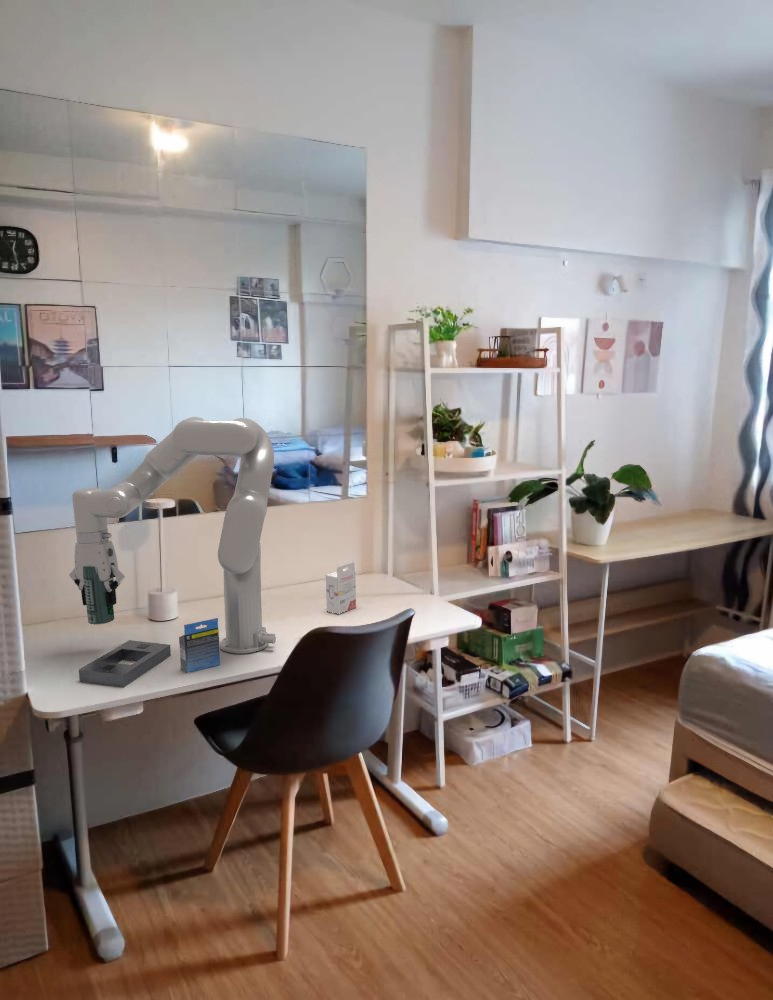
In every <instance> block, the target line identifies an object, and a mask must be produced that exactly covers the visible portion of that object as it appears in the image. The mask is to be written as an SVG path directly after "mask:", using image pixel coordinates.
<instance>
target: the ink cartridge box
mask: <svg viewBox="0 0 773 1000" xmlns="http://www.w3.org/2000/svg"><path fill="white" fill-rule="evenodd" d="M346 568H348V569H346ZM356 582H357V581H356V567H355V561H352V562H348V563H345V564H342V565H340V566H337V567H336V571H333V572H332V573H328V574H325V589H326V590H325V592H326V593H325V594H326V596H325V597H326V612H327V611H328V612H327V613H329V612H333V613H337V614H339V613H342V612H344V613H346V612H345V611H347V612H350V611H351V609H352V610H354V609H355V608H357V598H356V597H357V591H356V587H357V585H356ZM333 613H332V614H333ZM337 614H336V615H337ZM342 614H343V613H342ZM339 615H340V614H339Z"/></svg>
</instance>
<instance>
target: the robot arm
mask: <svg viewBox="0 0 773 1000" xmlns="http://www.w3.org/2000/svg"><path fill="white" fill-rule="evenodd" d="M198 455H199V456H227V457H228V456H240V463H239V467H238V472H237V473H238V474H237V479H236V480H237V481H236V485H235V488H234V493H233V496H232V497H231V499H230V501H229V502H228V503H227V506H226V510H225V513H224V519H223V522H222V528H221V533H220V538H219V544H218V549H217V560H218V562H219V565H220V566H221V568H222V569H223V600H224V621H225V623H224V624H225V625H224V626H225V627H224V628H225V637H224V638H223V639H222V640H221V641H219V649H220V650H222V651H224V652H226V653H230V654H235V655H236V654H238V655H239V654H240V655H241V654H243V655H244V654H250V653H251V654H252V653H256V651H257V652H259V651H263V650H265V649H266V648H267V647H268V646H269V644H272V645H273V644H274V645H275V643H276V642H277V640H276V639H277V636H276V634H275V633H270V632H269V633H268V632H267V629H266V627H265V626H263V617H262V615H263V614H262V613H263V612H262V611H263V610H262V578H261V577H262V576H261V575H262V574H261V573H262V572H261V565H262V563H261V559H262V558H261V556H262V555H261V554H262V553H261V552H262V551H261V542H260V541H261V536H262V531H263V527H264V521H265V518H266V515H267V511H268V500H269V493H270V489H271V485H272V478H273V472H274V465H275V464H274V463H275V452H274V446H273V444H272V440H271V438H270V436H269V435H268V433H267V432H266V431H265V429H264V428H263V427H262V426H261V425H259V424H258V423H257V422H256V421H254V420H252V419H250V418H247V417H238V418H235V419H233V420H207V419H206V420H205V419H204V418H202V417H198V416H191V417H187V418H185V419H183V420H180V422H178V423H177V424H176V426H175V427H174V429H173V430H171V432H169V434H168V435H166V436H165V437H164V438H163V439H162V440H160V442H159V443H157V444H156V445H155V446H154V447H152V449H151V450H149V452H148V453H146V455H145V457H144V459H143V461H142V462H141V464H140V465H139V466H137V468H135V470H133V471H132V472H131V473H130V474H129V475H128V476H126V478H124V480H122V481H121V482H120V483H118V484H117V485H116V486H114V487H111V488H109V489H105V490H102V489H101V488H99V487H86V488H85V487H84V488H80V489H76V490H75V491H73V493H72V496H71V497H72V506H73V508H72V509H73V518H74V526H75V527H74V528H75V533H76V534H75V535H76V542H75V545H74V568H73V569H72V570H71V572H70V573H69V578H70V579H72V581H73V582H74V584H75V585H76V586H77V587H78V590H79V591H80V594H81V601H82V606H86V598H85V588H84V579H83V567H95V569H96V574H97V571H98V575H99V579H100V581H102V582H103V583H104V585H105V587H106V589H107V592H106V593H105V594H106V604H107V607H110V606H112V605H113V606H114V605H116V604H117V592H116V589H118V587H119V586H120V585H121V583H122V582H123V580H124V579H125V578H126V577H125V575H124V573H122V572H121V571H120V570H119V564H118V558H117V553H116V550H115V546H114V544H113V541H112V540H110V539H111V538H112V533H111V532H109V530H108V520H107V519H108V518H109V519H120V518H124V517H126V516H128V515H129V514H130V513H131V512H133V511H134V510H136V509H137V508H138V507H139V506H140V505H141V504H142V503H143V502H145V501H146V500H147V499H148V498H149V497H150V496H151V495H152V494H153V493H155V492H156V491H157V490H158V489H159V488H160V487H161V486H162V485H164V484H165V483H167V482H169V481H170V480H171V479H172V478H174V477H175V476H176V475H177V474H178V473H179V472H180V471H182V470H183V468H185V467H186V466H187V465H188V464H189V463H190V462H191V461H193V460H194V459H195V458H196V457H198ZM114 578H115V579H114ZM109 581H110V583H109ZM110 584H111V585H110Z"/></svg>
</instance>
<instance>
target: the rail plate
mask: <svg viewBox="0 0 773 1000" xmlns="http://www.w3.org/2000/svg"><path fill="white" fill-rule="evenodd" d="M171 648H172V647H171V644H167V643H160V642H159V643H158V642H147V641H142V640H141V641H140V640H131V639H130V640H127V641H126V642H124V643H122V644H120V645H119V646H117V647H115V648H113V649H112V650H110V651H108V652H107V653H105V654H103V655H101V656H100V657H98V658H96V659H95V660H93V661H90V662H89V663H86V664H85V665H84V666H82V667H81V668H79V669H78V678H79V679H78V681H79V682H80V683H88V684H96V685H103V686H110V687H111V686H112V687H119V688H125V687H127V686H128V685H130V684H132V683H133V682H135V680H137V679H139V678H140V677H141V676H143V675H145V674H147V672H149V671H150V670H152V669H154V668H155V667H156V666H158V665H159V664H161V663H163V661H166V660H167V659H169V658H170V657H171V656H172V654H171ZM122 661H127V662H134V663H132V664H128V663H120V662H122Z"/></svg>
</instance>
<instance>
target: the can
mask: <svg viewBox="0 0 773 1000" xmlns="http://www.w3.org/2000/svg"><path fill="white" fill-rule="evenodd" d="M83 579H84V588H85V598H86V605H85V606H86V607H85V608H86V615H87V623H88V624H91V625H104V624H108V623H111V622H113V621H114V620H115V611H114V605H112V606H110V607H107V604H106V594H105V593H106V592H107V589H106V587H105V585H104V583H103V582H102V581H100V579H99V575H98V571H97V574H96V569H95V567H83ZM109 583H110V581H109ZM110 585H111V584H110Z"/></svg>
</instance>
